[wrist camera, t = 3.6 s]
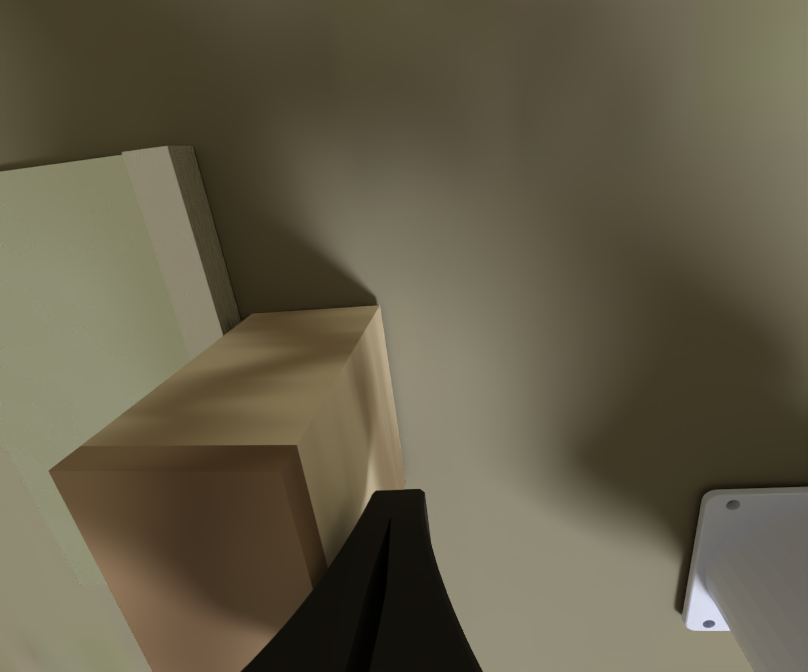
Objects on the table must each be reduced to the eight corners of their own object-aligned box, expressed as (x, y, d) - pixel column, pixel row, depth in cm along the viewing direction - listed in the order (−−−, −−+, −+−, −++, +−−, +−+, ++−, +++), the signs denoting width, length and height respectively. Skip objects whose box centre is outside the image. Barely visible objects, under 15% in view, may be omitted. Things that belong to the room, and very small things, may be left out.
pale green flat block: (192, 145, 15) (166, 145, 14) (311, 577, 23) (302, 605, 21) (-128, 190, 17) (-181, 194, 15) (84, 579, 24) (62, 606, 23)
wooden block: (379, 305, 16) (280, 472, 8) (405, 481, 19) (352, 731, 11) (252, 313, 17) (47, 470, 9) (296, 480, 20) (173, 711, 12)
